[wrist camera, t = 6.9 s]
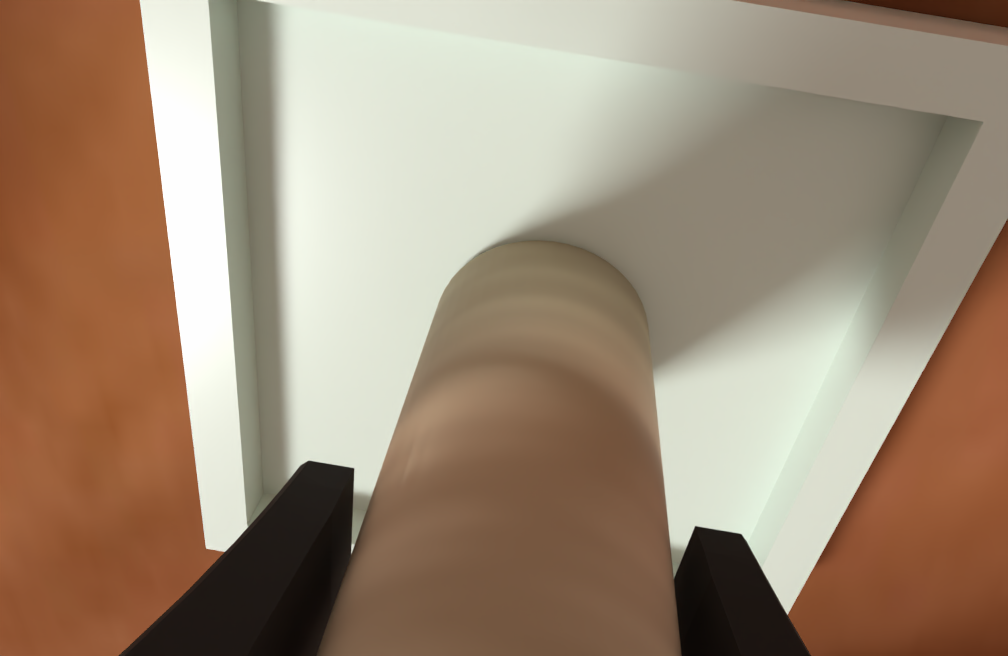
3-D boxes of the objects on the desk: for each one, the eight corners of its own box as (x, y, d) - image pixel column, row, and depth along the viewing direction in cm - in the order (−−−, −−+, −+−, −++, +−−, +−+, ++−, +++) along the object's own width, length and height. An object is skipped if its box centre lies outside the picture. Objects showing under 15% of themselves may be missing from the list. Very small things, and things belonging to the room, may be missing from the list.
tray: (236, 491, 19) (205, 548, 17) (188, -109, 12) (127, -101, 10) (756, 579, 19) (770, 644, 17) (1029, 31, 12) (1095, 60, 10)
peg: (431, 405, 15) (303, 841, 9) (438, 227, 13) (272, 626, 6) (627, 432, 15) (651, 896, 9) (668, 255, 13) (741, 695, 6)
